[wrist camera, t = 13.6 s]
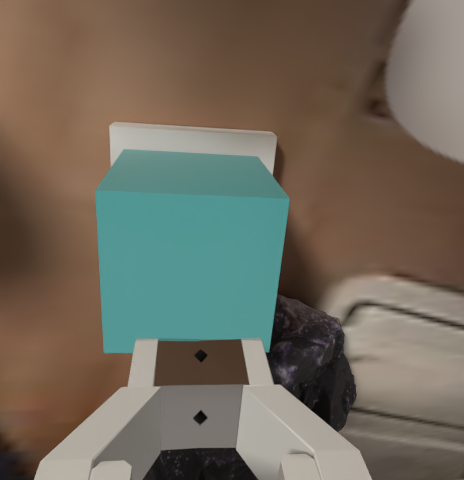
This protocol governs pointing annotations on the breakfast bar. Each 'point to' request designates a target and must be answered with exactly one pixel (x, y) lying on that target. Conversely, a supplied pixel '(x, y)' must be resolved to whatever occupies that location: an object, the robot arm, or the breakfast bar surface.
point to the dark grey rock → (288, 376)
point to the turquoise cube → (188, 247)
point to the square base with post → (192, 140)
